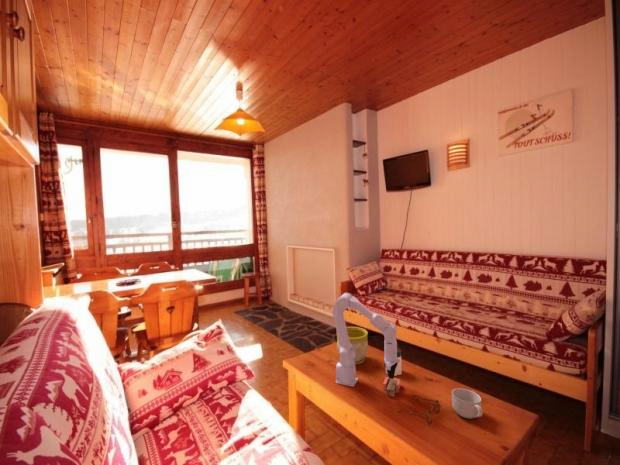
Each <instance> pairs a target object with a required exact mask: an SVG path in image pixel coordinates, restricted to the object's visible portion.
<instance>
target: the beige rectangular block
mask: <svg viewBox="0 0 620 465" xmlns="http://www.w3.org/2000/svg"><path fill="white" fill-rule="evenodd" d="M396 383H397V380H393V379H390V381H389V384H388V386H387V389H386V397H391V398H395V395H396Z"/></svg>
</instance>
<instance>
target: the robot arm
mask: <svg viewBox="0 0 620 465" xmlns="http://www.w3.org/2000/svg"><path fill="white" fill-rule="evenodd" d="M347 309H348V311H350V310H353V311H354V310H356V311H357V312H359V313H360V314H361V315H363V316H364V317H365V318H367V319H369V323H370V324H371V325H372V326H373V327H375V328H376V329H377V330H379V331H380V332H381V333H382V335H383V336H384V342H383V344H384V345H383V347H384V349H383V350H384V358H383V360H384V365H383V367H384V369H385V371H386V370H387V373H388V374H387V373H386V374H387V375H388V376H387V377H389V378H390V379H393V378H395V376H394V375H395V369H396V367H397V364H398V363H399V362H400V360H399V359H397V348H398V342H397V332H398V327H397V326H396V325H395V324H394V322H390V321H388V320H386V319H385V318H384V317H383V316H382V314H380V313H374V312H372V311H371V310H370V309H369V308H368V307H367V306H366V305H364V304H363V303H362V302H361V301H359V300H358V299H357V298H356V297H355V296H354V295H353V294H351V293H349V292H343V293H342V295H340V296H339V297H338V298H337V299H336V301H334V305H333V308H332V317H333V321H334V326H335V329H336V330H335V331H336V336H337V335H338V338H337V339H339V344H340V354H339V360H338V362H337V363H336V366H335V383H336V384H340V385H344V386H348V387H352V388H353V387H355V386H356V384H357V382H358V380H359V378H358V377H356V365H355V361H354V358H355V357H356V352H355V350H354V349H353V347H352V345H351V344H350V341H349V337H348V332H347V328H346V327H347V324H346V320H345V315H344V312H345V311H346V310H347Z"/></svg>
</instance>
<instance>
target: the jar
mask: <svg viewBox="0 0 620 465" xmlns="http://www.w3.org/2000/svg"><path fill="white" fill-rule="evenodd" d="M397 359H399V360H400V362H399V363H398V364H397V367H396V369H395V375H394V377H397V376H400V375H402V373H403V372H402V349H401V348H400V347H397ZM385 374H387V375H388V373H387V370H386V369H385Z"/></svg>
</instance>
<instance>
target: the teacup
mask: <svg viewBox="0 0 620 465" xmlns="http://www.w3.org/2000/svg"><path fill="white" fill-rule="evenodd" d="M451 405H452V409H453V410H454V411H455V412H456V413H457V414H458V415H459V416H460V417H463V418H465V419H472V420H473V419H476V418H481V417H482V416H483V415H484V414H483V413H484V412H483V409H482V397H481V396H480V395H479V394H478V393H476V391H473V390H470V389H466V388H460V387H459V388H454V389H452V390H451Z"/></svg>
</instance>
